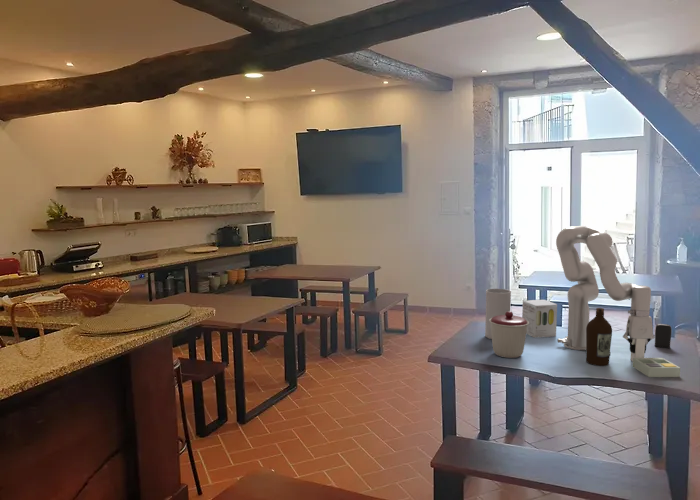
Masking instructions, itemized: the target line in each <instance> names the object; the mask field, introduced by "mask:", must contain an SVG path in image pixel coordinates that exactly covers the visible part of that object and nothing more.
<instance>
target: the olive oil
mask: <svg viewBox="0 0 700 500" xmlns="http://www.w3.org/2000/svg"><path fill="white" fill-rule="evenodd" d="M612 336H613V329H612V325H611V324H610V323H609V321H608V320H607V319H606V318H605V308H602V307H596V309H595V316H594V317H593V318H591V320H589V323H588V324H587V327H586V350H585V351H586V352H585V354H586V357H585V361H586V363H587V364H589V365H592V366H597V367H598V366H599V367H604V366H605V367H606V366H609V364H610V358H611V357H610V356H611V346H612Z"/></svg>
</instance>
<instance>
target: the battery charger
mask: <svg viewBox="0 0 700 500" xmlns="http://www.w3.org/2000/svg"><path fill="white" fill-rule="evenodd" d="M672 333H673V331H672V326H671V325H670V324H668V323H667V324H666V323H657V324H656V325H655V329H654V337H655V338H654V347H658V348H666V349H670V348H671V342H672V340H671V339H672Z"/></svg>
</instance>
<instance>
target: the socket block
mask: <svg viewBox="0 0 700 500" xmlns="http://www.w3.org/2000/svg"><path fill="white" fill-rule="evenodd" d="M632 367H633V368H634V369H635V370H637V371H639V372H640V373H642V374H643V375H644V376H645V377H647V378H680V377H681V367H680V366H678V365H676V364H675V363H673V362H671V361H669V360H667V359H665V358H664V357H644V358H633V361H632Z"/></svg>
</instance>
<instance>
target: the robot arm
mask: <svg viewBox="0 0 700 500" xmlns="http://www.w3.org/2000/svg"><path fill="white" fill-rule="evenodd" d="M556 236H557V237H556V241H555V244H556V249H557V252H558V255H559V258H560V259H559V260H560V262H561V266H562V270H563V273H564V276H565V278H566V280H567V281H568V282H573V283H574V282H575V283H577V284H574V285H572V286H570V287H569V289H568V291H567V303H568V316H567V317H568V319H567V320H568V321H567V336H565V337H563V338H557V340H556V341H557V343H561V344H563V346H564V348H567V349H570V350H574V351H575V350H576V351H586V327H587V324H588V323H589V322H590V307H589V302H592V301H594V300H596V299H597V298H598V296H599V294H600V293H599V292H600V289H599V286H598V285H599V284H598V282H597V278H596V275H595V271H594V269H593V267H592V266H591V264H589V262H587V261H584V260H581V259H580V256H579V252H578V250H577V249H576V247H575V244H580V243H581V244H585V245H586V247H587V249H588V251H589V253H590V255H591V256H592V258H593V259H594V261H595V263H596V264H597V267H598V268H599V278H600V280H601V284H602V286H603V288H604V290H605V292H606V293H607V295H608V296H609V297H610V298H611V299H612V300H613V301H616V302H620V301H625V300H631V301H630V310H628V311H627V314H629V315H628V317H627V321H626V328H625V332H624V334H623V335H622V338H623V339H625V340H626V341H627V342H628V343H629V351H630V353H631V352H632V353H635V344H634V343H635V340H636V339H645V352H647V345H648V344H649V342H650V341H652V340H653V339H655V334H653V333H654V332H653V331H654V330H653V319H652V316H650V312H651V311H650V310H651V297H652V296H651V295H652V289H651V287H650V286H648V285H640V284H635V283H630V282H623V283H622V282H620V280H619V279H618V277H617V275H616V266H617V263H618V259H617V257H616V256H615V253H614V252H613V251H612V249H611V247H612V245H613V238H612V237H611V235H610V234H609V233H607V232H605V231H602V230H598V229H596V228H592V227H589V226H586V225H577V226H575V225H573V226H569V227H565V228H563V229H561V231H560V232H559V233H558V235H556Z"/></svg>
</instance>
